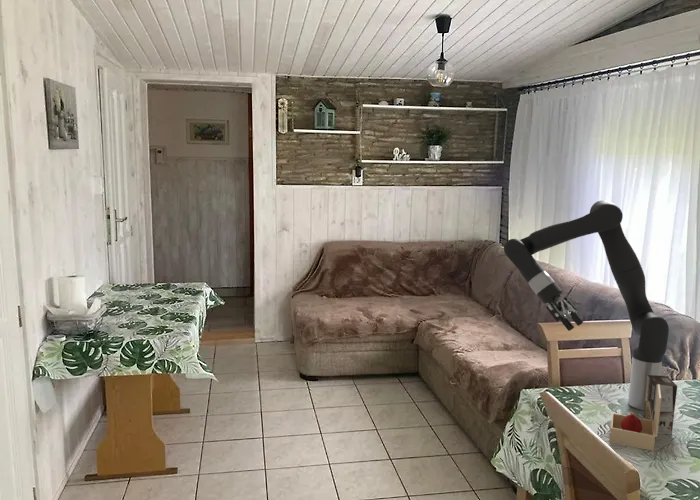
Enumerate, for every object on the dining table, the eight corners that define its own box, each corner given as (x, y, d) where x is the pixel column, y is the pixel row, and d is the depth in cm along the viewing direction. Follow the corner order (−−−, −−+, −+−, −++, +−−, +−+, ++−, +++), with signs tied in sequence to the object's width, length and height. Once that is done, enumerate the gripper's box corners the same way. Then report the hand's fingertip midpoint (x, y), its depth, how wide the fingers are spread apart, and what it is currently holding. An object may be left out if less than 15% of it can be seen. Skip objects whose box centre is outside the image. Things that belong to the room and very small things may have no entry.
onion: (639, 434, 180) (641, 410, 179) (642, 442, 175) (644, 417, 174) (619, 431, 182) (621, 407, 181) (621, 439, 177) (623, 414, 176)
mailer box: (610, 426, 187) (615, 377, 184) (654, 434, 181) (659, 384, 179) (609, 441, 176) (614, 390, 173) (655, 451, 170) (661, 398, 168)
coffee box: (672, 435, 181) (678, 386, 179) (650, 432, 182) (655, 384, 180) (663, 422, 190) (668, 375, 187) (642, 420, 191) (646, 373, 189)
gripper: (545, 284, 189) (577, 324, 184) (561, 278, 200) (592, 316, 195) (528, 297, 194) (559, 337, 188) (545, 290, 204) (575, 328, 199)
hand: (576, 326), depth 191 cm, fingers open, 8 cm apart
